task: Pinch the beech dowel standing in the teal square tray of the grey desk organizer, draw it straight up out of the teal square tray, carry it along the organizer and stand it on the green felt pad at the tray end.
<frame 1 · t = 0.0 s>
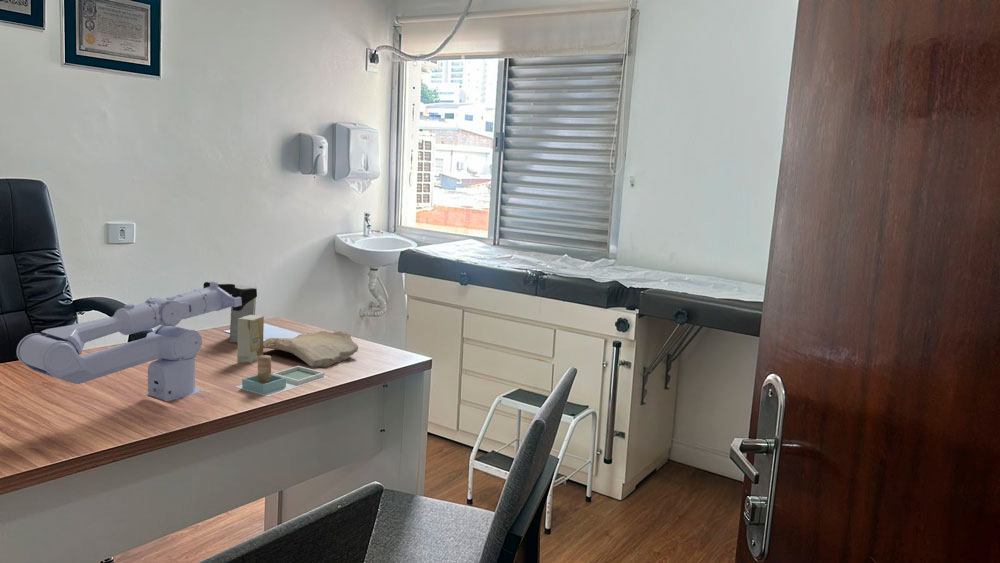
hand: (244, 290, 176), 22 cm above the table, tool horizontal, fingers open, 7 cm apart
tan rock slab: (310, 356, 201), on the table
skincare box: (243, 340, 212), on the table
dowel: (264, 387, 169), point 1 cm above the table, touching organizer
organizer: (283, 383, 174), on the table
teal square tray: (264, 389, 169), resting on organizer
skincare box 2: (250, 362, 191), on the table
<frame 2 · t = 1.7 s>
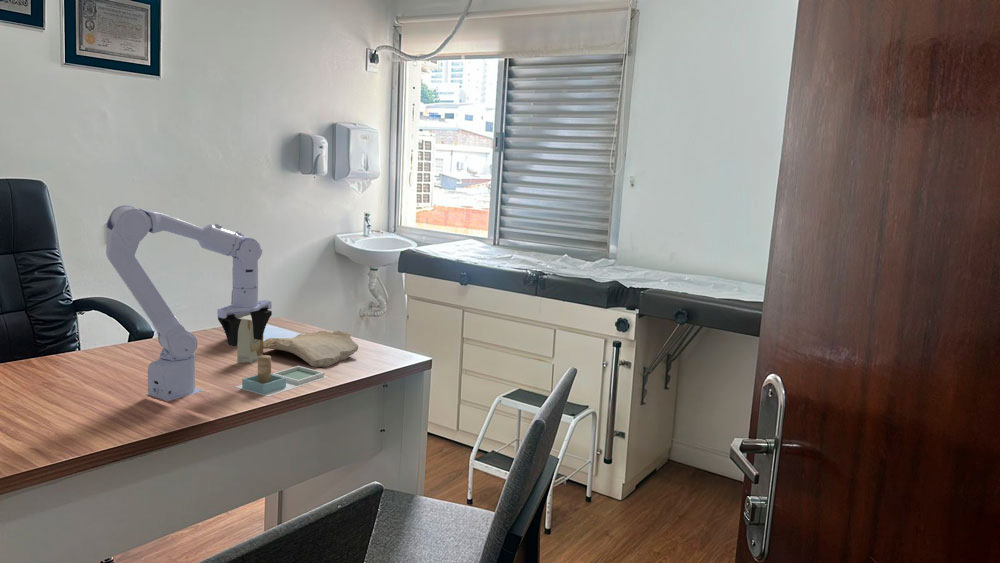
hand: (245, 342, 171), 10 cm above the table, tool pointing down, fingers open, 7 cm apart
nothing on the table moved.
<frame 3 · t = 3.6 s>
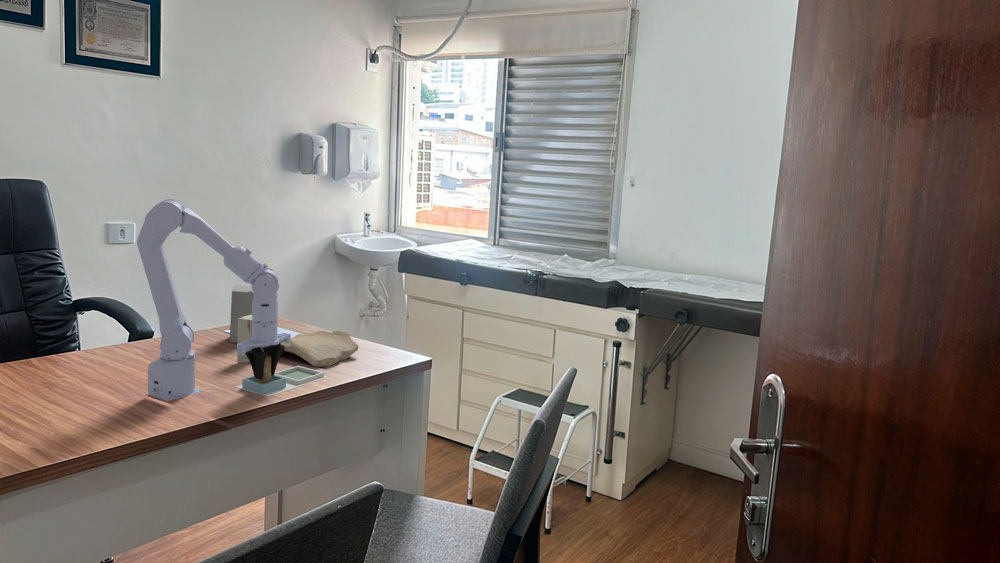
hand: (264, 376, 168), 3 cm above the table, tool pointing down, fingers closed on dowel, 3 cm apart
dowel: (264, 387, 169), point 1 cm above the table, touching gripper, organizer
everything else where it was.
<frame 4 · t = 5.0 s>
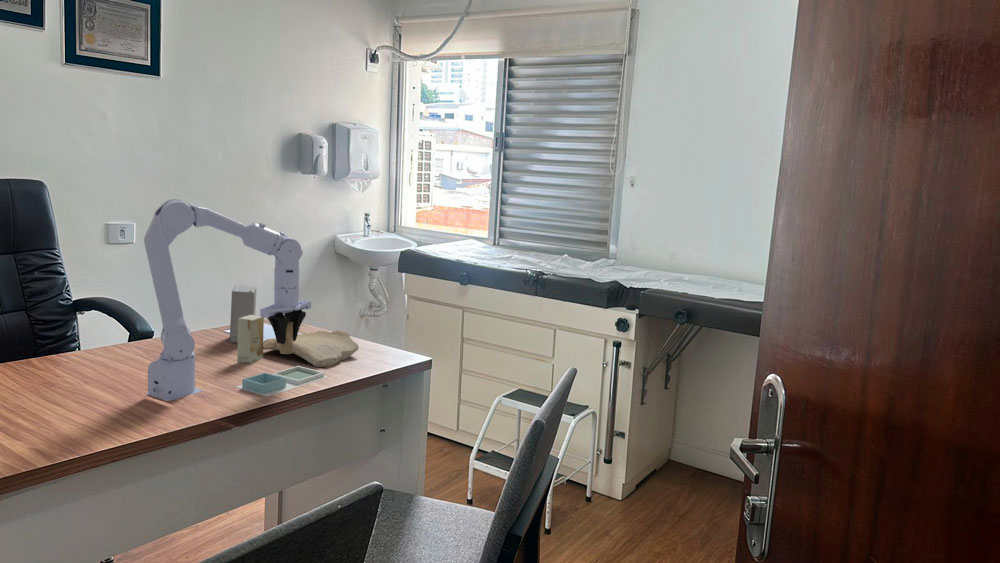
hand: (286, 341, 173), 11 cm above the table, tool pointing down, fingers closed on dowel, 3 cm apart
dowel: (286, 352, 173), point 8 cm above the table, touching gripper
everything else where it was.
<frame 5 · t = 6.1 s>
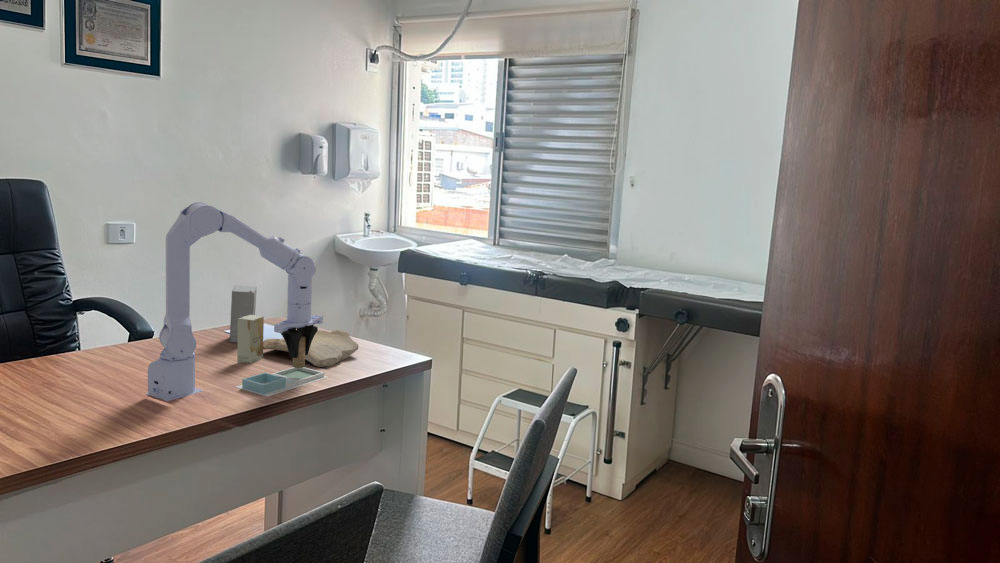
hand: (298, 355, 178), 6 cm above the table, tool pointing down, fingers closed on dowel, 3 cm apart
dowel: (298, 366, 178), point 3 cm above the table, touching gripper
everything else where it was.
when the fingers open (4 cm above the table, at t = 6.7 s): dowel drops 1 cm, resting on organizer.
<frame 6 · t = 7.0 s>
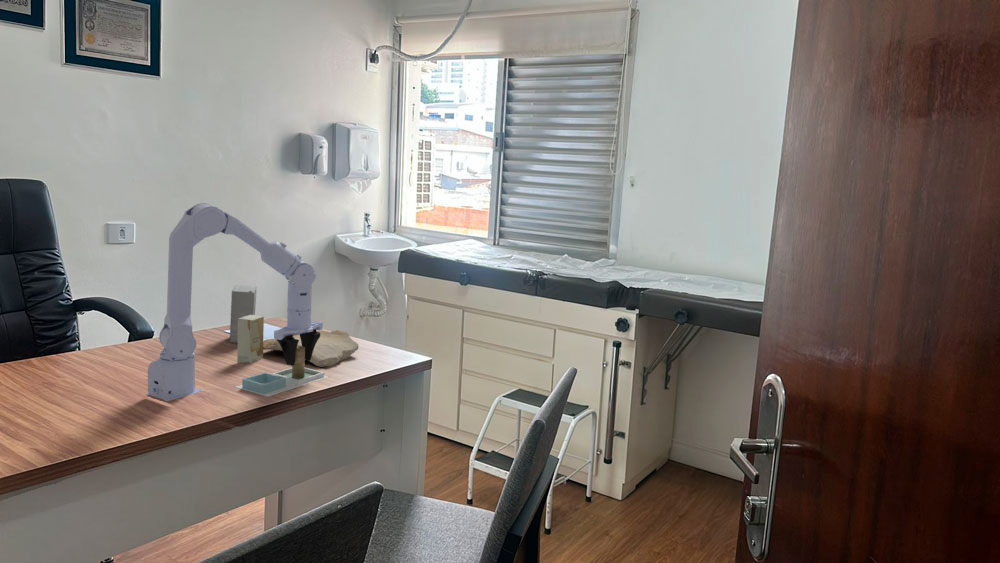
hand: (298, 362, 178), 4 cm above the table, tool pointing down, fingers open, 5 cm apart
dowel: (298, 376, 178), point 1 cm above the table, touching organizer
everything else where it was.
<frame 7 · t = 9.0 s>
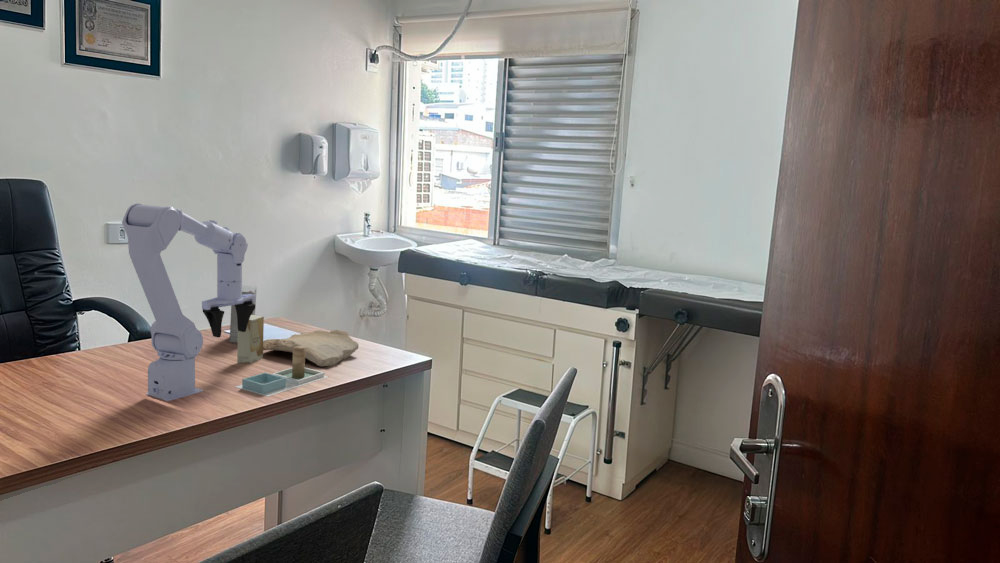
hand: (229, 333, 178), 10 cm above the table, tool pointing down, fingers open, 7 cm apart
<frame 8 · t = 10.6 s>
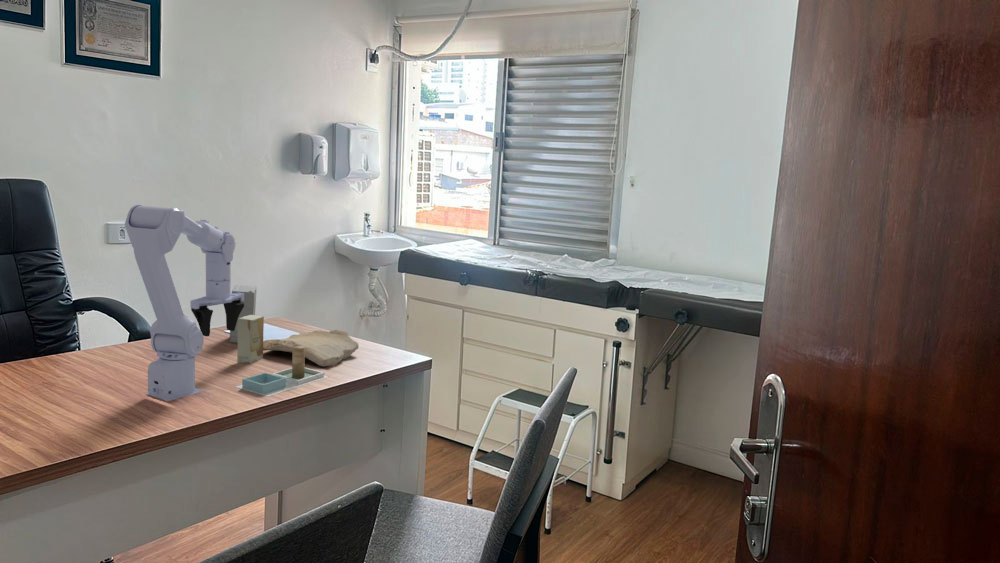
hand: (218, 332, 178), 10 cm above the table, tool pointing down, fingers open, 7 cm apart
at the end: dowel inside the target area on the organizer (0.1 cm from its centre), point 0.7 cm above the organizer's base; dowel tilted 1°; the gripper is holding nothing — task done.
